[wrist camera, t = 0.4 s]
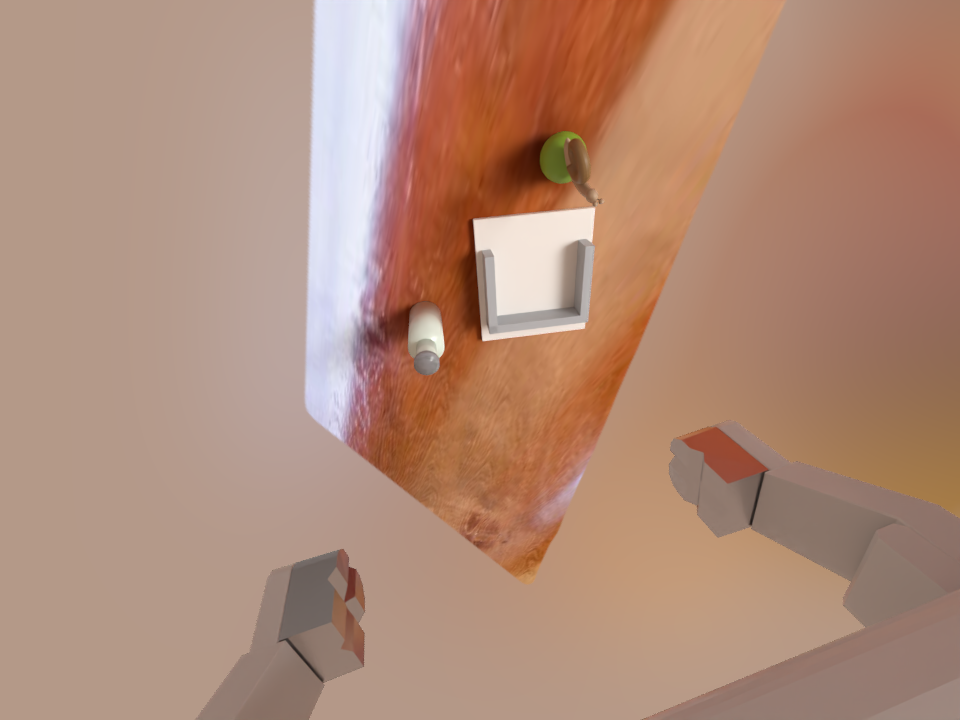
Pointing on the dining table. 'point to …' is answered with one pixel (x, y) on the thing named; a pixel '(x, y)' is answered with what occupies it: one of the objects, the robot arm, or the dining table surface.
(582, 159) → the snail figurine
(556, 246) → the u stand
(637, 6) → the dining table surface
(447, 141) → the dining table surface
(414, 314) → the pale green bottle
